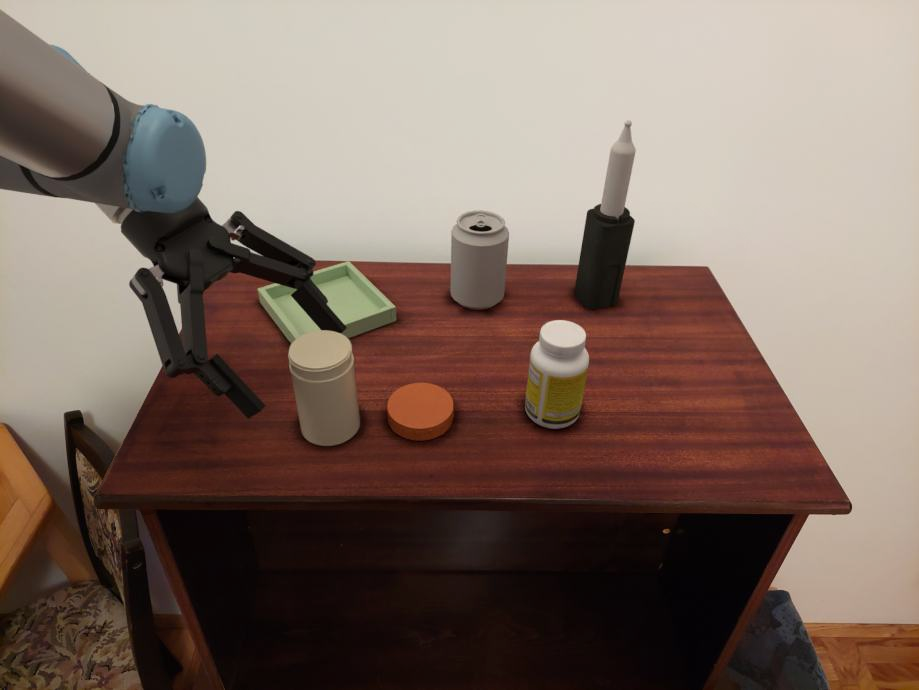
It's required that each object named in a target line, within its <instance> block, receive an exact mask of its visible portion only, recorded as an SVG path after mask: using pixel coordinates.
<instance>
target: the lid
mask: <svg viewBox="0 0 919 690" xmlns="http://www.w3.org/2000/svg"><path fill="white" fill-rule="evenodd" d="M454 404H455V403H454V400H453V398H452V396H451V394H450V393H449V392H448V391H447V390H446V389H445V388H443V387H441V386H439V385H437V384H434V383H429V382H412V383H409V384H405V385H403V386H401V387H399V388H397V389H396V390H394V391H393V392H392V393H391V394H390V396H389V397H388V400H387V403H386V413H387V424H388V425H389V427H390V428H391V430H392V431H393V433H395V434H396V435H398V436H400V437H402V438H404V439H407V440H411V441H416V442H417V441H419V442H421V441H422V442H423V441H424V442H425V441H430V440H431V441H432V440H433V439H436V438H438V437H441V436H442V435H444V434H445V433H446V432H447V431H448V430H450V428H451V427H452V424H453V421H454V419H455V409H454V408H455V407H454Z"/></svg>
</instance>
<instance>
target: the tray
mask: <svg viewBox="0 0 919 690" xmlns="http://www.w3.org/2000/svg"><path fill="white" fill-rule="evenodd" d="M313 272H314V274H313V276H312V277H311V280H312V281H313V283H314V284H315V285H316V286H317V287H318V288H319V289H320V291H321V292H322V293H323V294H324V295H325V296H326V298H327V300H328V303H327V305H328V306H329V307H330V309H331V310H332V311H333V312H334V313H335V314H336V316H337V317H338V318H339V319H340V320H341V321H342V322H343V324H344V325H345V326H346V327H347V329H346V330H344V331H343V332H342V333H341V334H343V335H344V336H346V337H347V338H348V339H350V338H353V337H356V336H359V335H361V334H364V333H367V332H370V331H373V330H375V329H379V328H381V327H383V326H386V325H389V324H392V323H395V322H397V307H396V305H395V304H394V303H392V302H391V300H390V299H389V298H388V297H387V296H385V294H384V293H383V292H382V291H380V290H379V289H378V288H377V287H376V286H375V285H374V284H373V283H372V282H371V281H370V280H369V279H368V278H367V277H366V276H365V275H364V274H363V273H362V272H361V271H360V270H359V269H358V268H357V267H356V266H355V265H354V264H352V262H351V261H349V260H347V261H344V262H340V263H337V264H334V265H331V266H328V267H324V268H320V269H318V270H313ZM296 290H297V289H293V288H290V287H287V286H283V285H280V284H277V283H272V284H268V285H264V286H262V287H259V288H257V293H258V299H259V303H260V305H261V306H262V308H264V310H265V311H266V313H267V314H268V315H269V316H270V318H271V319H272V320H273V322H274V324H276V326H277V327H278V329H279V330H280V331H281V332H282V334H283V335H284V336H285V338H286V339H287V340H288V342H289V343H290V345H291V344H292V343H293V342H294V341H295V340H296V339H297V338H298V337H300V336H302V335H304V334H306V333H309V332H313V331H320V330H321V329H320V328H319V327H318V326H317V325H316V324H315V323H314V321H313V320H312V319H311V318H310V317H309V316H308V315H307V313H306V312H305V311H304V310H303V309H302V308H301V307H300V305H299V304H298V303H297V302H296V301H295V300H294V299H293V298H292V296H291V294H292V293H294V292H295V291H296Z"/></svg>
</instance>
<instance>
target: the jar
mask: <svg viewBox="0 0 919 690" xmlns="http://www.w3.org/2000/svg"><path fill="white" fill-rule="evenodd" d="M287 358H288V369H289V373H290V374H289V375H290V379H291V384H292V385H291V386H292V390H293V395H294V401H295V407H296V412H297V418H298V423H299V427H300V432H301V435H302V437H303V438H304V439H306V441H308V442H309V443H311V444H313V445H316V446H321V447H331V446H337V445H341V444H344V443H346V442H347V441H349V440H350V439H352V438H353V437H355V435H356V434H357V433H358V431H359V429H360V426H361V413H360V404H359V396H358V384H357V374H356V364H355V357H354V354H353V345H352V342H351V340H350V338H347V337H346V336H344V335H343V334H341V333H338V332H334V331H328V330H320V331H313V332H309V333H306V334H304V335H302V336H300V337H298V338H297V339H296V340H295V341H294V342H293V343H292V344H291V343H290V345H289V349H288V354H287Z"/></svg>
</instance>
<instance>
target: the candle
mask: <svg viewBox="0 0 919 690" xmlns="http://www.w3.org/2000/svg"><path fill="white" fill-rule="evenodd" d="M623 124H624V127H623V129H622V131H621V133H620V134H619V137H618V139H617V140H616V141H615V142H614V143H613V144H612V145H611V147H610V151H609V158H608V163H607V169H606V175H605V181H604V186H603V192H602V197H601V203H599V204H596V205H594V206H593V208H590V209H588V210H587V211H586V217H585V223H584V228H583V234H582V241H581V246H580V253H579V260H578V266H577V273H576V277H575V284H574V290H573V295H574V297H575V298H576V299H577V300H578V301H579V303H580V304H581V305H582V306H583V308H585V309H586V310H591V311H596V310H597V309H602V308H607V307H611V308H612V307H615V306H617V305H618V301H619V299H620V298H619V297H620V294H621V293H620V292H621V287H622V284H623V279H624V274H625V269H626V265H627V260H628V256H629V250H630V246H631V241H632V237H633V232H634V227H635V223H636V220H635V218H634V217H633V216H631V212H630V210H629V209H628V208H627V207H626V201H627V197H628V192H629V187H630V181H631V176H632V172H633V166H634V162H635V158H636V157H635V156H636V153H637V152H636V151H637V150H636V146H635V145H634V144H635V143H634V142H633V139H632V129H631V127H632V125H633V123H632V121H631V120H630V119H626V120H625V121H624V123H623Z"/></svg>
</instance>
